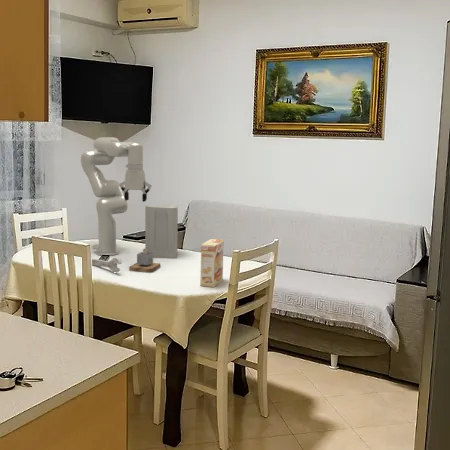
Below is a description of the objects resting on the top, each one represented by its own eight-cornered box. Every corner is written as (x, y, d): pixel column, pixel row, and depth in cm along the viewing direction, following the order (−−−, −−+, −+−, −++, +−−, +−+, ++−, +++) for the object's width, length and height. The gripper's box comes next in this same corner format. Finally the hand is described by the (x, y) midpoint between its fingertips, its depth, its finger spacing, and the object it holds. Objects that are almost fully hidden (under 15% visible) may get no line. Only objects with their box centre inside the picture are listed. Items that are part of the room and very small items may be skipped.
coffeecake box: (214, 287, 269) (215, 245, 265) (199, 286, 271) (200, 244, 267) (223, 279, 283) (224, 239, 280) (209, 278, 285) (209, 238, 281)
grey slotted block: (137, 264, 296) (136, 254, 296) (141, 261, 302) (141, 251, 301) (148, 265, 295) (148, 255, 294) (152, 262, 301) (152, 252, 300)
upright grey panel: (160, 260, 317) (160, 209, 312) (144, 255, 328) (144, 205, 323) (188, 256, 329) (188, 206, 324) (172, 251, 340) (172, 203, 335)
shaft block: (129, 270, 295) (129, 250, 293) (138, 265, 306) (138, 245, 304) (151, 272, 292) (151, 252, 290) (160, 267, 303) (160, 247, 301)
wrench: (92, 269, 308) (122, 274, 286) (88, 269, 307) (119, 274, 285) (90, 253, 308) (121, 257, 285) (87, 254, 307) (118, 258, 284)
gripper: (116, 167, 300) (116, 200, 303) (148, 168, 295) (148, 202, 298) (122, 166, 307) (123, 198, 310) (154, 167, 302) (153, 200, 305)
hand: (135, 200), depth 304 cm, fingers open, 9 cm apart
